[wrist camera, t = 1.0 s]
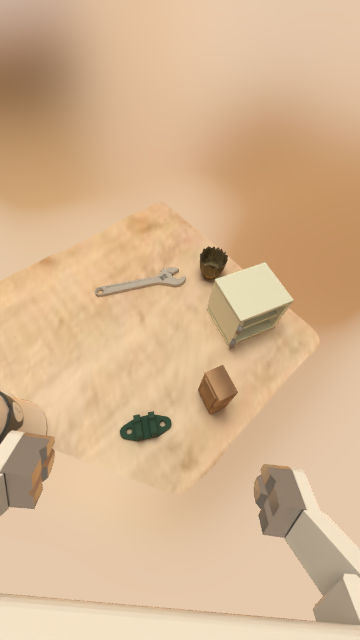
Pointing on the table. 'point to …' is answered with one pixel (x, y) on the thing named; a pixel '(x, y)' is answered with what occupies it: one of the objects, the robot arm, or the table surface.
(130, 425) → the mount
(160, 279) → the adjustable wrench
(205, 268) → the brown hollow round piece
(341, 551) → the robot arm
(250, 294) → the cabinet
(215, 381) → the brown wooden tall block
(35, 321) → the table surface
